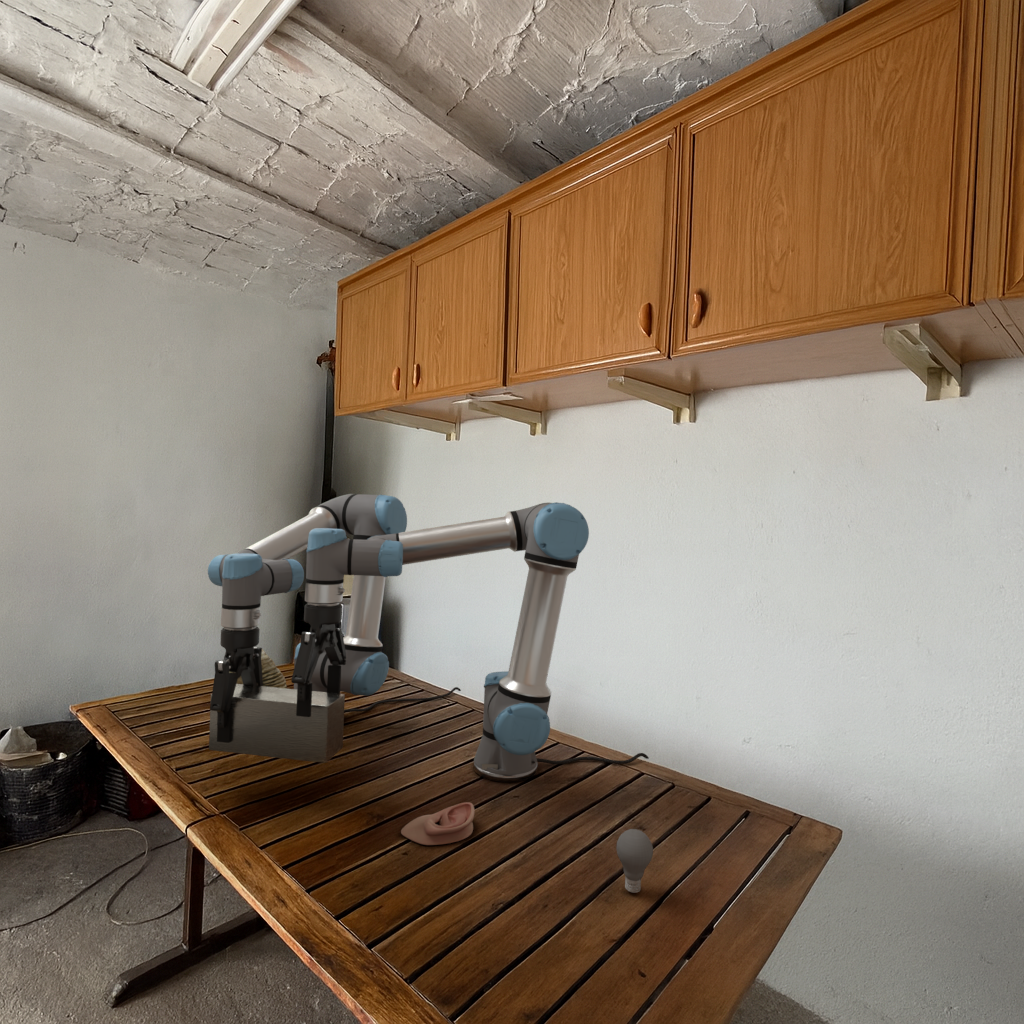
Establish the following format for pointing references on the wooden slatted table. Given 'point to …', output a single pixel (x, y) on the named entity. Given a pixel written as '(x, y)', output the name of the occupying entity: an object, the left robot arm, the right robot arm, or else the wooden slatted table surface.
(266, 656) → the fossil
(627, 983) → the wooden slatted table surface
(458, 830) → the anatomical model
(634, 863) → the light bulb
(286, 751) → the box
